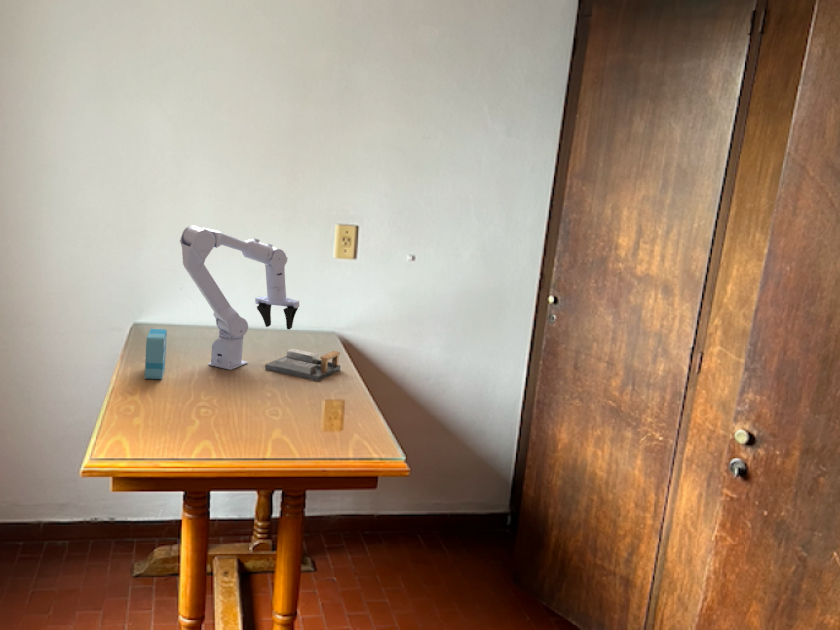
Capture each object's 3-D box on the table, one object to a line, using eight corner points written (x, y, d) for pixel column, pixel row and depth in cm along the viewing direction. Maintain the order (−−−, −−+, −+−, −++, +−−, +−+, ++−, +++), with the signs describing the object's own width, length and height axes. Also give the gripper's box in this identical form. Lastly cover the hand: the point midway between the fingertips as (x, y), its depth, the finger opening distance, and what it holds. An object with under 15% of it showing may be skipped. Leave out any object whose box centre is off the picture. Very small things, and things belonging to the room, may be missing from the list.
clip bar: (311, 365, 240) (312, 356, 240) (286, 359, 243) (287, 350, 243) (317, 363, 244) (318, 353, 243) (291, 357, 247) (292, 348, 246)
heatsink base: (318, 381, 231) (319, 362, 230) (265, 369, 237) (266, 350, 236) (340, 370, 245) (341, 352, 244) (289, 358, 251) (291, 341, 249)
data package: (161, 381, 216) (163, 339, 213) (144, 380, 214) (146, 338, 212) (164, 368, 227) (166, 328, 224) (148, 367, 226) (150, 327, 223)
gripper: (303, 284, 243) (305, 325, 247) (262, 280, 248) (265, 321, 252) (291, 290, 237) (294, 332, 241) (250, 286, 241) (253, 327, 246)
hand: (278, 327), depth 246 cm, fingers open, 7 cm apart
